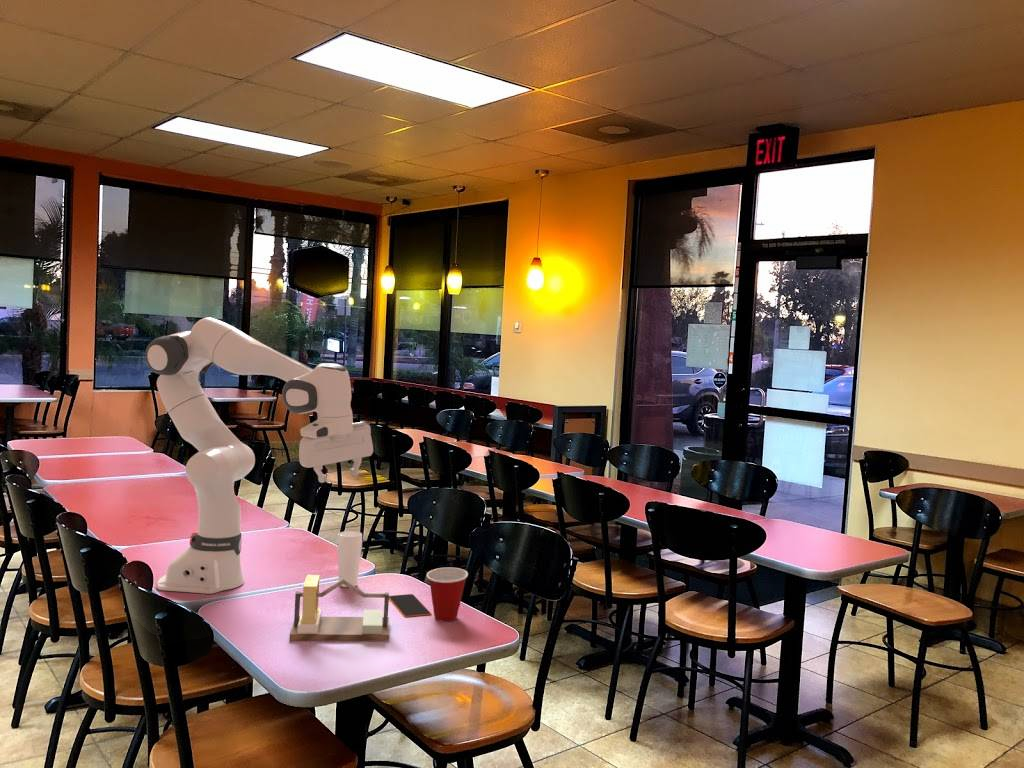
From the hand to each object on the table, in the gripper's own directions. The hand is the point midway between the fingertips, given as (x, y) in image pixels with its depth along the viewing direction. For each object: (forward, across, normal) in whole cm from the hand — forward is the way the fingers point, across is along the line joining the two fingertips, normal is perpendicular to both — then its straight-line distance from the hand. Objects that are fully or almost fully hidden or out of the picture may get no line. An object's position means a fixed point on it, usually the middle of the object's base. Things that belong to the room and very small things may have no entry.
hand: (338, 478), depth 212 cm
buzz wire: (+34, +11, +15) cm, 38 cm away
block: (+32, +17, +10) cm, 37 cm away
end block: (+33, +4, +19) cm, 38 cm away
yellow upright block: (+30, +16, +10) cm, 35 cm away
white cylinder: (+36, -10, -15) cm, 40 cm away
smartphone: (+37, -14, +9) cm, 40 cm away
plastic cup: (+37, -16, +21) cm, 46 cm away
